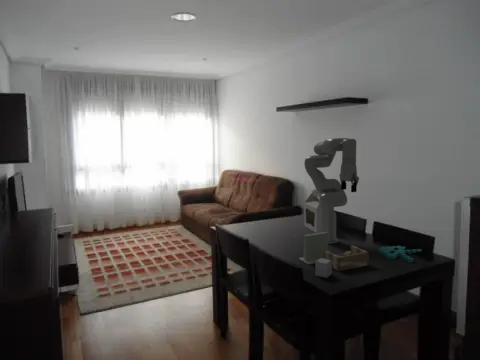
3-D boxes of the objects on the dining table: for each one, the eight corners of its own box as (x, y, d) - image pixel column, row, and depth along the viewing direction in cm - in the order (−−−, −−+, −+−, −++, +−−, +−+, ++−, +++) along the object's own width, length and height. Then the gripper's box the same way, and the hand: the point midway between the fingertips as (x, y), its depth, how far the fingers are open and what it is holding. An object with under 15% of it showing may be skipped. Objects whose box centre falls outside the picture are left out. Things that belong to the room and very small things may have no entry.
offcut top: (351, 255, 198) (351, 251, 198) (347, 258, 193) (347, 254, 193) (347, 254, 199) (347, 250, 199) (342, 257, 195) (342, 253, 194)
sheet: (303, 259, 203) (303, 235, 201) (325, 256, 208) (325, 231, 206) (306, 261, 201) (305, 236, 199) (327, 257, 206) (327, 232, 204)
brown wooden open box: (323, 262, 199) (323, 250, 198) (352, 257, 206) (352, 245, 205) (338, 271, 187) (338, 257, 186) (368, 265, 194) (368, 252, 193)
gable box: (304, 225, 277) (303, 188, 274) (320, 224, 280) (320, 187, 277) (316, 233, 256) (316, 193, 252) (334, 231, 259) (334, 192, 255)
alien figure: (421, 253, 211) (386, 247, 223) (421, 249, 210) (386, 243, 223) (412, 263, 195) (374, 256, 208) (412, 259, 195) (374, 252, 208)
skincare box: (331, 274, 183) (331, 259, 182) (326, 278, 178) (326, 263, 177) (320, 271, 187) (320, 257, 186) (315, 275, 182) (315, 261, 181)
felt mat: (298, 258, 206) (298, 258, 206) (322, 254, 212) (322, 253, 212) (308, 264, 197) (308, 263, 197) (333, 259, 203) (333, 259, 203)
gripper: (334, 160, 215) (334, 189, 218) (352, 162, 199) (352, 193, 201) (345, 159, 218) (345, 188, 220) (364, 161, 201) (363, 192, 204)
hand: (348, 190), depth 211 cm, fingers open, 9 cm apart
